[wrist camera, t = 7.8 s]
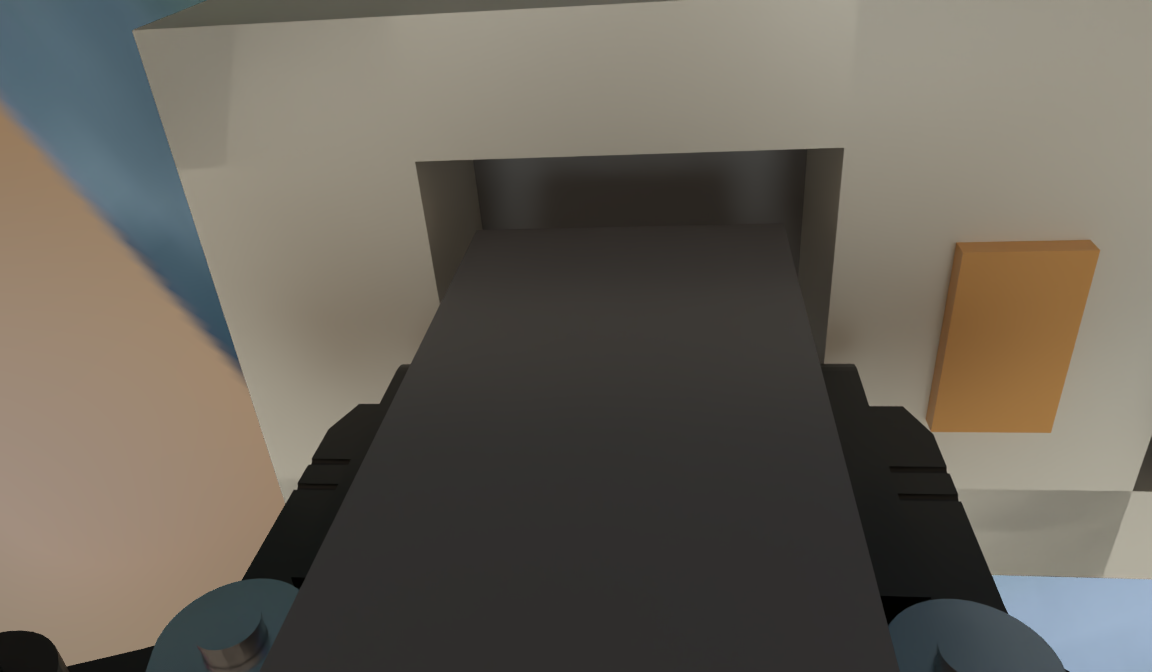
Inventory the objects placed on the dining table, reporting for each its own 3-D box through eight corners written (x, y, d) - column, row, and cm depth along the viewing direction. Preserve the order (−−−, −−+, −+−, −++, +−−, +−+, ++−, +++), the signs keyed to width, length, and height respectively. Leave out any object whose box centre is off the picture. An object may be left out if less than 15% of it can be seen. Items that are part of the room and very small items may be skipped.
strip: (371, 420, 19) (296, 568, 15) (264, -23, 14) (118, 35, 10) (1513, 427, 16) (1761, 611, 12) (1851, -120, 11) (2412, -88, 8)
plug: (476, 230, 11) (113, 968, 4) (783, 223, 11) (998, 1044, 4) (509, 464, 13) (307, 1236, 6) (769, 467, 13) (885, 1309, 6)
